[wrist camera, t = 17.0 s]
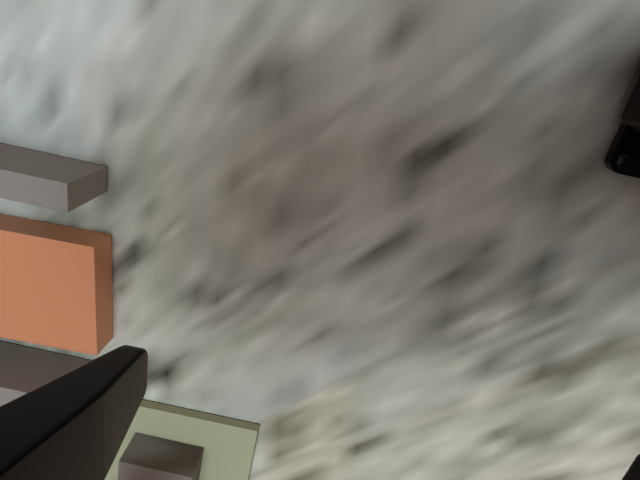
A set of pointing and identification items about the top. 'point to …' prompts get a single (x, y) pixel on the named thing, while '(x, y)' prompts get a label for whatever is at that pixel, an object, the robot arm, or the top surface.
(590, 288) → the top surface
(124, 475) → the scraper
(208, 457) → the mat
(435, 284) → the top surface
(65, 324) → the tile
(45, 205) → the bay
